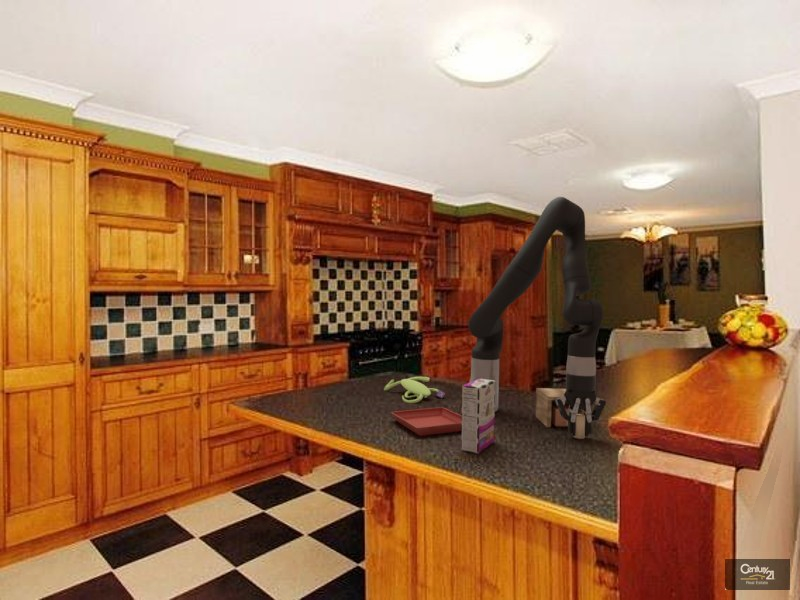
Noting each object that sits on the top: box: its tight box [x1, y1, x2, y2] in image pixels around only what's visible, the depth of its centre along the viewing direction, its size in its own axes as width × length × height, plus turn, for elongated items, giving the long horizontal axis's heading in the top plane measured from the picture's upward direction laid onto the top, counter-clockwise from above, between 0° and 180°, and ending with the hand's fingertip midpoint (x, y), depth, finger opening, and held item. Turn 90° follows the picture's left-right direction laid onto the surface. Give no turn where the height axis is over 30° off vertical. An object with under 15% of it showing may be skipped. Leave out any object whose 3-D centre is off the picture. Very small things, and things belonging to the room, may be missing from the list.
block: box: [551, 405, 586, 440], centre depth 137 cm, size 6×18×6 cm, turn 0°
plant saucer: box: [391, 407, 462, 437], centre depth 137 cm, size 18×18×3 cm
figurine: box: [383, 376, 446, 404], centre depth 179 cm, size 18×27×6 cm
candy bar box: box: [460, 379, 496, 455], centre depth 120 cm, size 11×5×16 cm, turn 148°
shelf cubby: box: [534, 387, 583, 428], centre depth 145 cm, size 11×12×9 cm
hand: (579, 434), depth 129 cm, fingers closed on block, 3 cm apart
